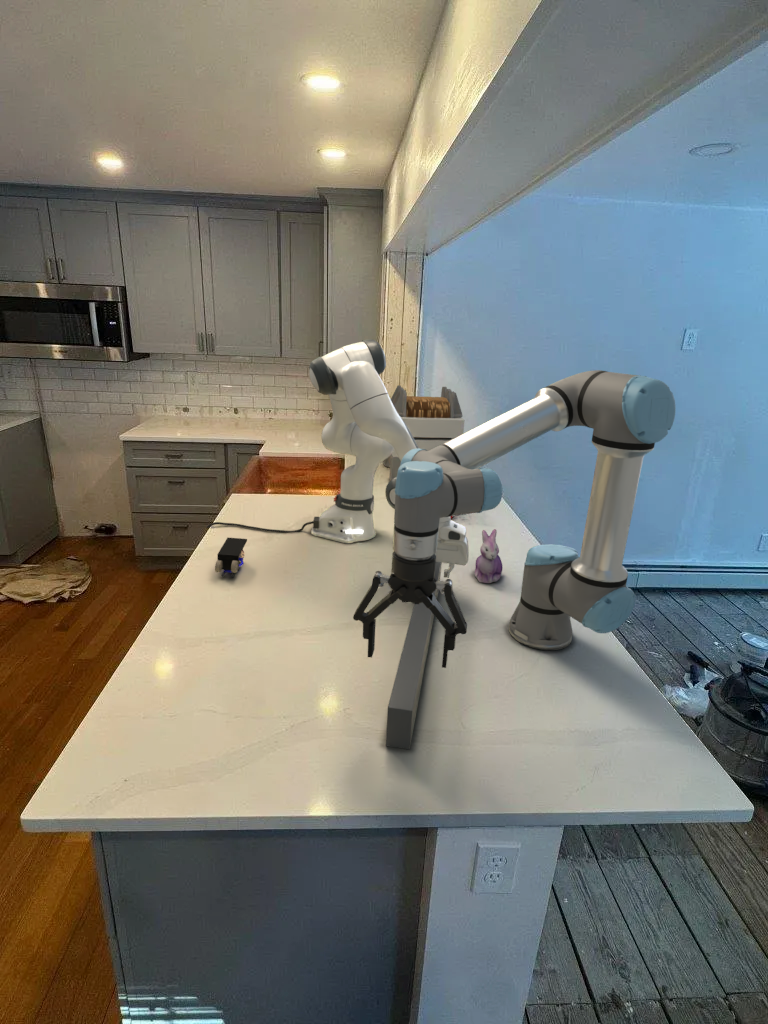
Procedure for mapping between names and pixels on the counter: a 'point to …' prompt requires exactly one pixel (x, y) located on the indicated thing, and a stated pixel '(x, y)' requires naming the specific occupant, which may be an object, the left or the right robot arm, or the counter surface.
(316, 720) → the counter surface
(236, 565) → the black wheeled block
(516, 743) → the counter surface
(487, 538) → the figurine
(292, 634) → the counter surface
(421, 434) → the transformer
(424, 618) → the post
